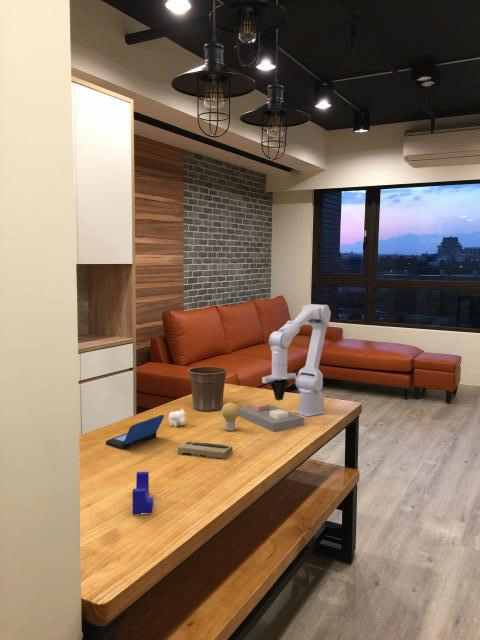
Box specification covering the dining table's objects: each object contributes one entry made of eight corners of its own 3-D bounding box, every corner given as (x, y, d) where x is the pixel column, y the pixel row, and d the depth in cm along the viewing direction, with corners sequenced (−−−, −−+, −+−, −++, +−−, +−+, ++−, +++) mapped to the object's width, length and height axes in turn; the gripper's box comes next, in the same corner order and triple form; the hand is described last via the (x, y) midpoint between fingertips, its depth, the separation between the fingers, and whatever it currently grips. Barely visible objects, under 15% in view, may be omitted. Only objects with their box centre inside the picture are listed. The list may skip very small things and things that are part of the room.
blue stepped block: (151, 514, 129) (151, 490, 128) (132, 515, 128) (132, 491, 127) (154, 493, 140) (154, 471, 140) (137, 493, 140) (136, 471, 139)
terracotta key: (261, 409, 213) (261, 402, 213) (268, 412, 209) (269, 404, 209) (251, 411, 210) (251, 403, 210) (258, 414, 206) (258, 406, 206)
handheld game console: (138, 432, 190) (137, 407, 189) (165, 440, 182) (165, 413, 181) (103, 445, 177) (103, 418, 176) (131, 453, 169) (131, 425, 168)
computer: (232, 452, 172) (232, 442, 171) (225, 461, 164) (225, 450, 164) (187, 447, 176) (187, 437, 176) (177, 455, 168) (177, 445, 168)
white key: (279, 416, 203) (280, 409, 203) (288, 420, 199) (288, 412, 199) (269, 418, 200) (269, 411, 200) (277, 422, 196) (277, 414, 196)
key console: (265, 410, 219) (265, 402, 218) (303, 425, 199) (303, 417, 198) (236, 415, 211) (236, 408, 211) (273, 431, 191) (273, 423, 191)
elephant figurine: (178, 430, 192) (178, 414, 192) (162, 425, 197) (162, 410, 197) (190, 425, 198) (190, 409, 197) (175, 421, 203) (175, 406, 202)
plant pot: (193, 401, 231) (193, 365, 229) (229, 403, 229) (230, 366, 227) (184, 412, 215) (183, 372, 213) (223, 414, 213) (223, 374, 211)
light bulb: (239, 427, 196) (240, 400, 194) (238, 433, 189) (238, 405, 188) (222, 426, 196) (222, 400, 195) (220, 432, 190) (220, 405, 189)
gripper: (270, 367, 190) (269, 404, 192) (301, 363, 198) (300, 399, 200) (258, 364, 196) (258, 400, 197) (289, 360, 204) (289, 395, 205)
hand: (279, 399), depth 199 cm, fingers closed
